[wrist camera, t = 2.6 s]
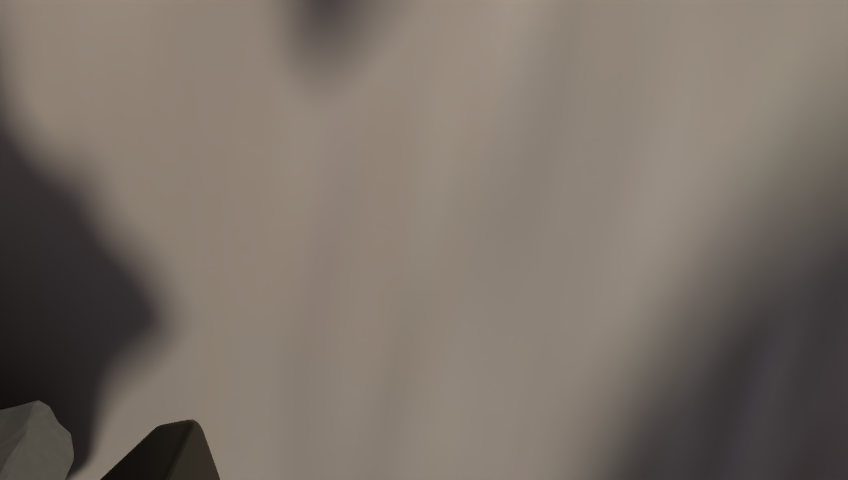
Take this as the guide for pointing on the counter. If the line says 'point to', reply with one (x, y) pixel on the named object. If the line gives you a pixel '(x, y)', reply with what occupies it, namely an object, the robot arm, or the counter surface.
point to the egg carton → (33, 444)
